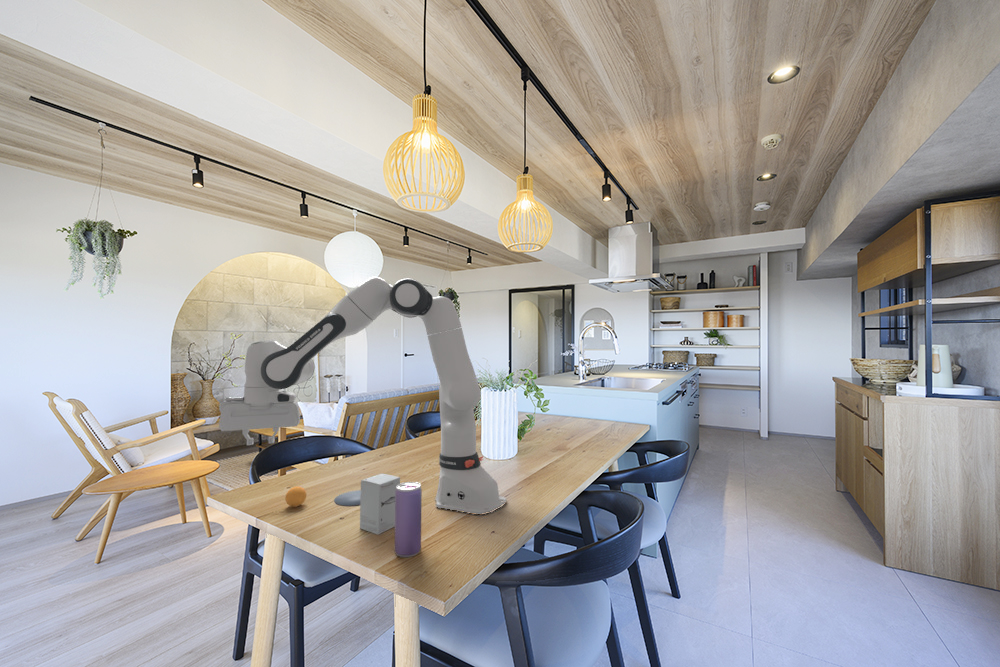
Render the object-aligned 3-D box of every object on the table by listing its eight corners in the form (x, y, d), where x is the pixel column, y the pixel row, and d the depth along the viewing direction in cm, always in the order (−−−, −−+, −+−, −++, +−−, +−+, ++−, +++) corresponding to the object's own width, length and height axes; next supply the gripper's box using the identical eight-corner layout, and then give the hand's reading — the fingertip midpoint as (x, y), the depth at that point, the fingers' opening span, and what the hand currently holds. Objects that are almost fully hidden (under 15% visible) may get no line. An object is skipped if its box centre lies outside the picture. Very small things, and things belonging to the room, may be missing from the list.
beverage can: (414, 559, 89) (415, 491, 90) (389, 556, 90) (390, 489, 91) (425, 546, 95) (425, 482, 95) (401, 544, 96) (402, 480, 97)
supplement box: (378, 535, 101) (379, 484, 101) (359, 528, 104) (359, 479, 105) (400, 524, 107) (400, 476, 107) (381, 518, 111) (381, 472, 111)
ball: (310, 505, 120) (310, 486, 121) (291, 511, 116) (291, 491, 116) (299, 501, 123) (300, 482, 124) (281, 506, 119) (281, 487, 119)
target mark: (386, 496, 128) (386, 495, 128) (351, 509, 117) (351, 508, 117) (361, 488, 135) (361, 487, 135) (325, 499, 124) (325, 499, 124)
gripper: (216, 399, 110) (215, 449, 110) (299, 395, 118) (298, 443, 118) (222, 396, 116) (220, 444, 116) (301, 393, 124) (300, 438, 124)
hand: (260, 444), depth 117 cm, fingers open, 4 cm apart
